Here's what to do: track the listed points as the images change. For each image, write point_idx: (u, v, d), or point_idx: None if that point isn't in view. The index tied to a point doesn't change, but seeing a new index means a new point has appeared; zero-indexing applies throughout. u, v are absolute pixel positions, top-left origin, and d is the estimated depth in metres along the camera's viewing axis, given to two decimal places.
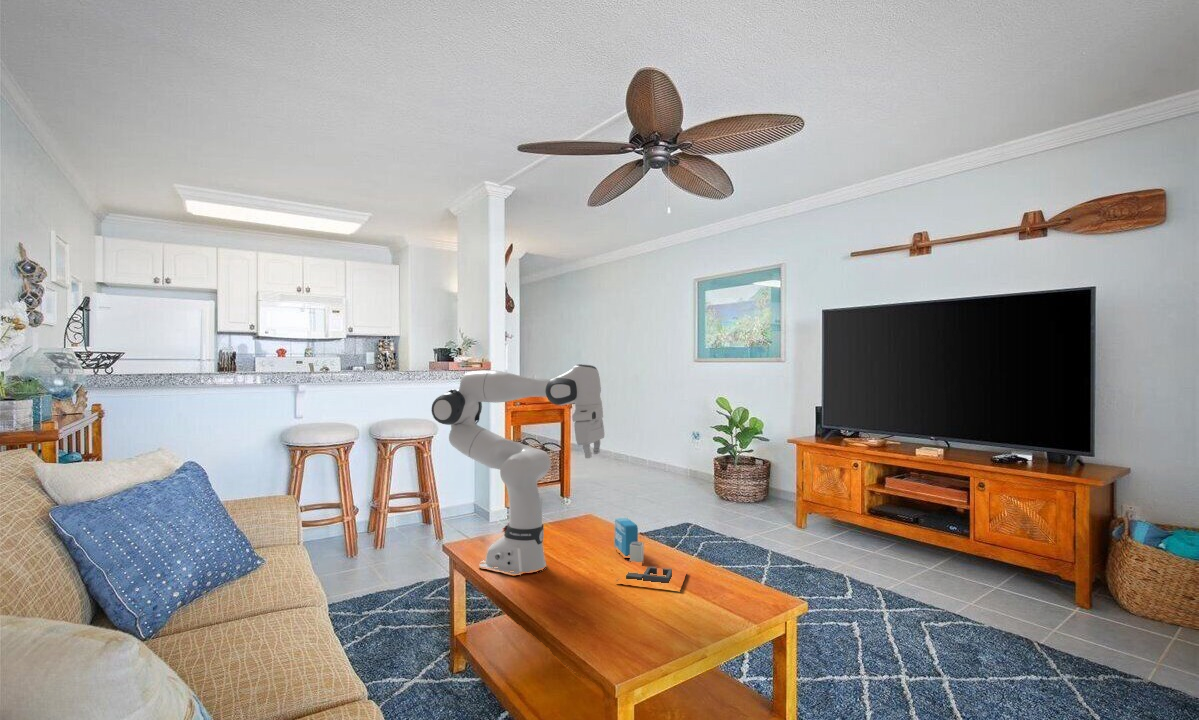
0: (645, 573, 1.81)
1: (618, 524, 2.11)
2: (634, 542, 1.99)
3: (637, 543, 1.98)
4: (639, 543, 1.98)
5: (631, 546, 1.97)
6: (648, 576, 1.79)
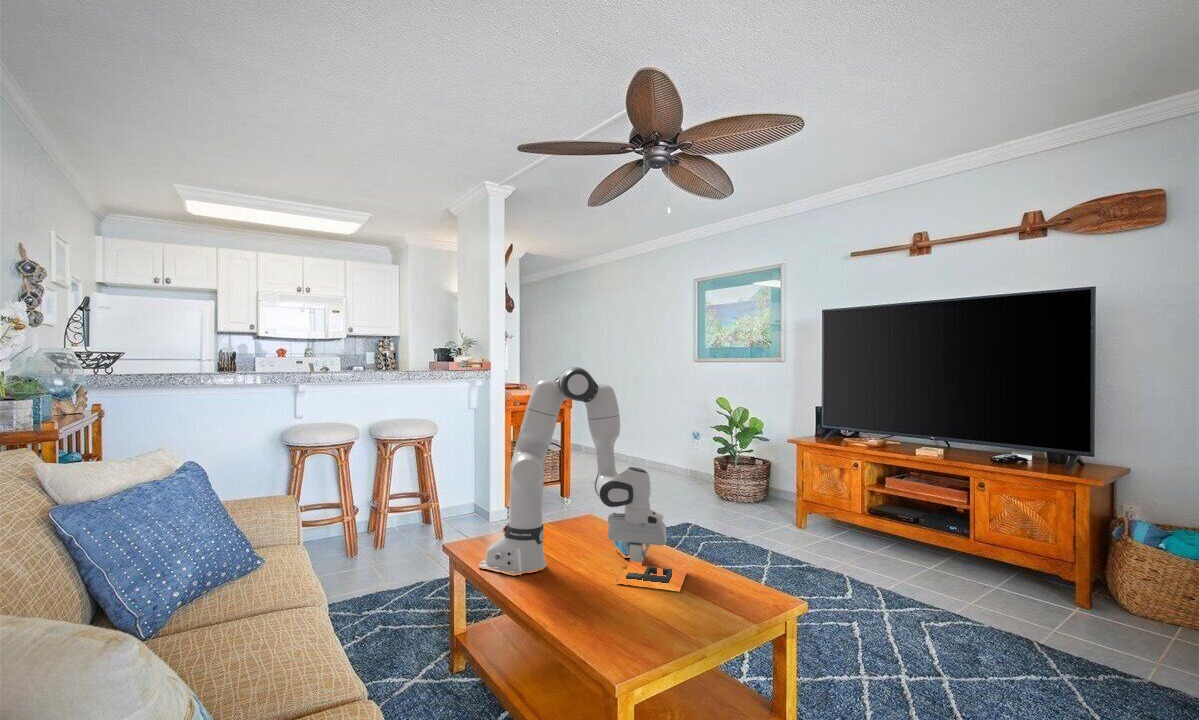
0: (645, 573, 1.81)
1: None
2: None
3: (637, 543, 1.98)
4: (639, 543, 1.98)
5: (631, 546, 1.97)
6: (648, 576, 1.79)
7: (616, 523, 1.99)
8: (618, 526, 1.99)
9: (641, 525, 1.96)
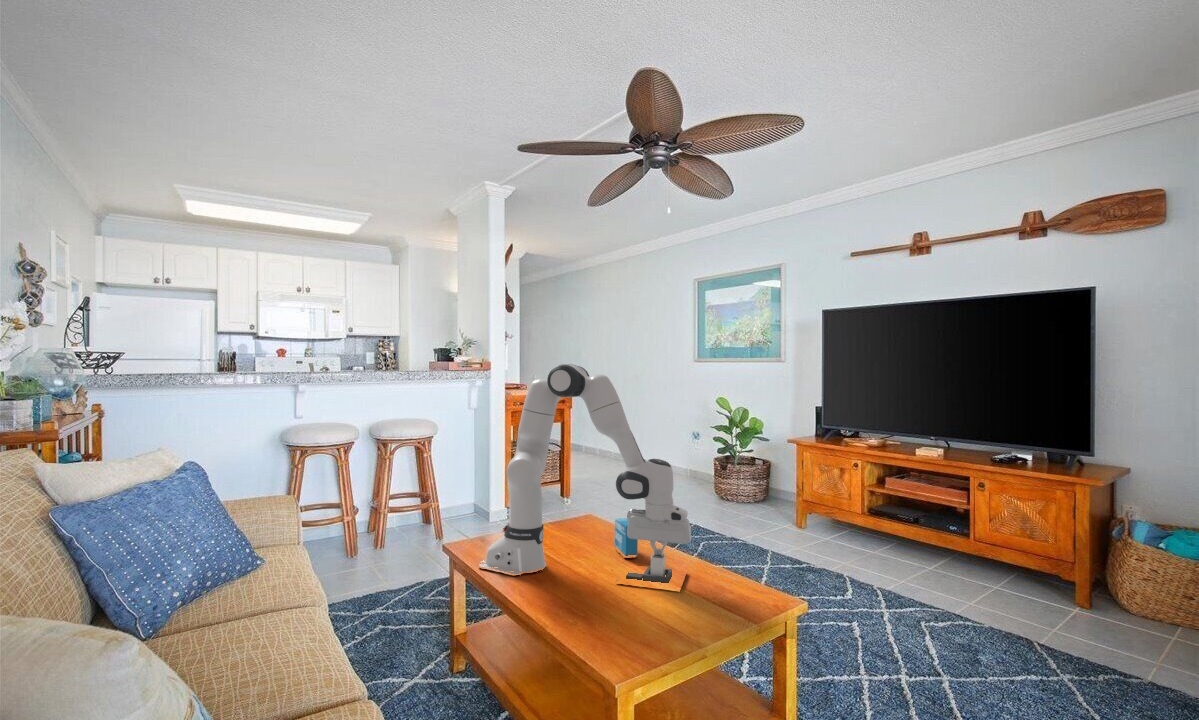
0: (645, 573, 1.81)
1: (618, 524, 2.11)
2: None
3: None
4: None
5: (652, 558, 1.81)
6: (648, 576, 1.79)
7: (635, 520, 1.83)
8: (638, 523, 1.83)
9: (664, 522, 1.80)
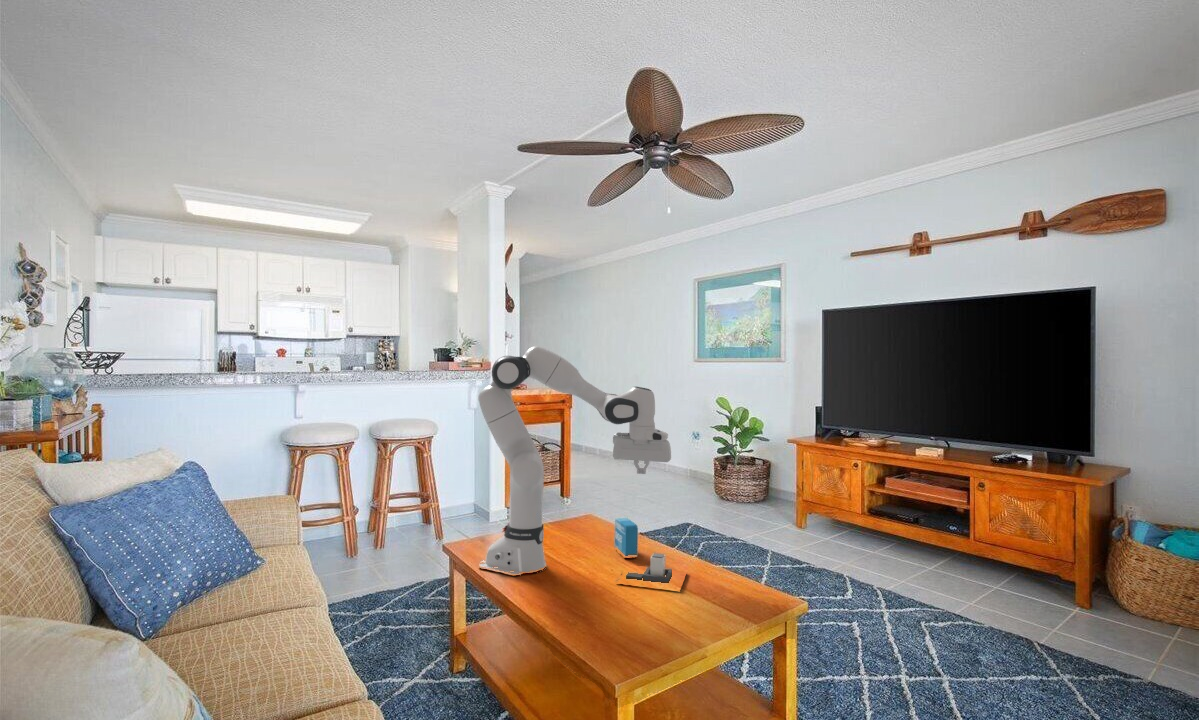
0: (645, 573, 1.81)
1: (618, 524, 2.11)
2: (655, 554, 1.83)
3: (658, 555, 1.82)
4: (660, 555, 1.82)
5: (652, 558, 1.81)
6: (648, 576, 1.79)
7: (620, 442, 2.00)
8: (623, 445, 2.00)
9: (646, 442, 1.97)
